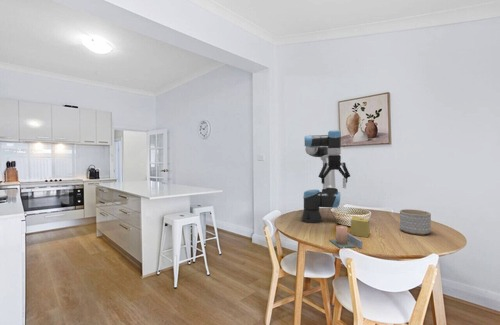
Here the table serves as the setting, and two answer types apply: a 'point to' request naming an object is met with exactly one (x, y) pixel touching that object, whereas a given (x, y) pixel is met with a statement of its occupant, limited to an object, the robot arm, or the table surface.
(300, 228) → the table surface
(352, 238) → the divider wall
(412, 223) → the planter
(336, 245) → the mat
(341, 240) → the pink rounded cylinder
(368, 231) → the cheese
